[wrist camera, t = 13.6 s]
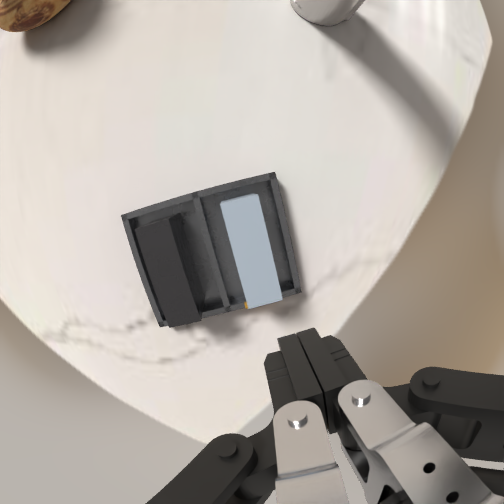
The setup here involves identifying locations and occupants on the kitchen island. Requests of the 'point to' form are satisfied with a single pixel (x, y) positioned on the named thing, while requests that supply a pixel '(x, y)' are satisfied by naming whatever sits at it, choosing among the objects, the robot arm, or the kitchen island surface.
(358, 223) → the kitchen island surface
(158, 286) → the dark grey tray
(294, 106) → the kitchen island surface
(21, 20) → the clay pot
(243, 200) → the panel
